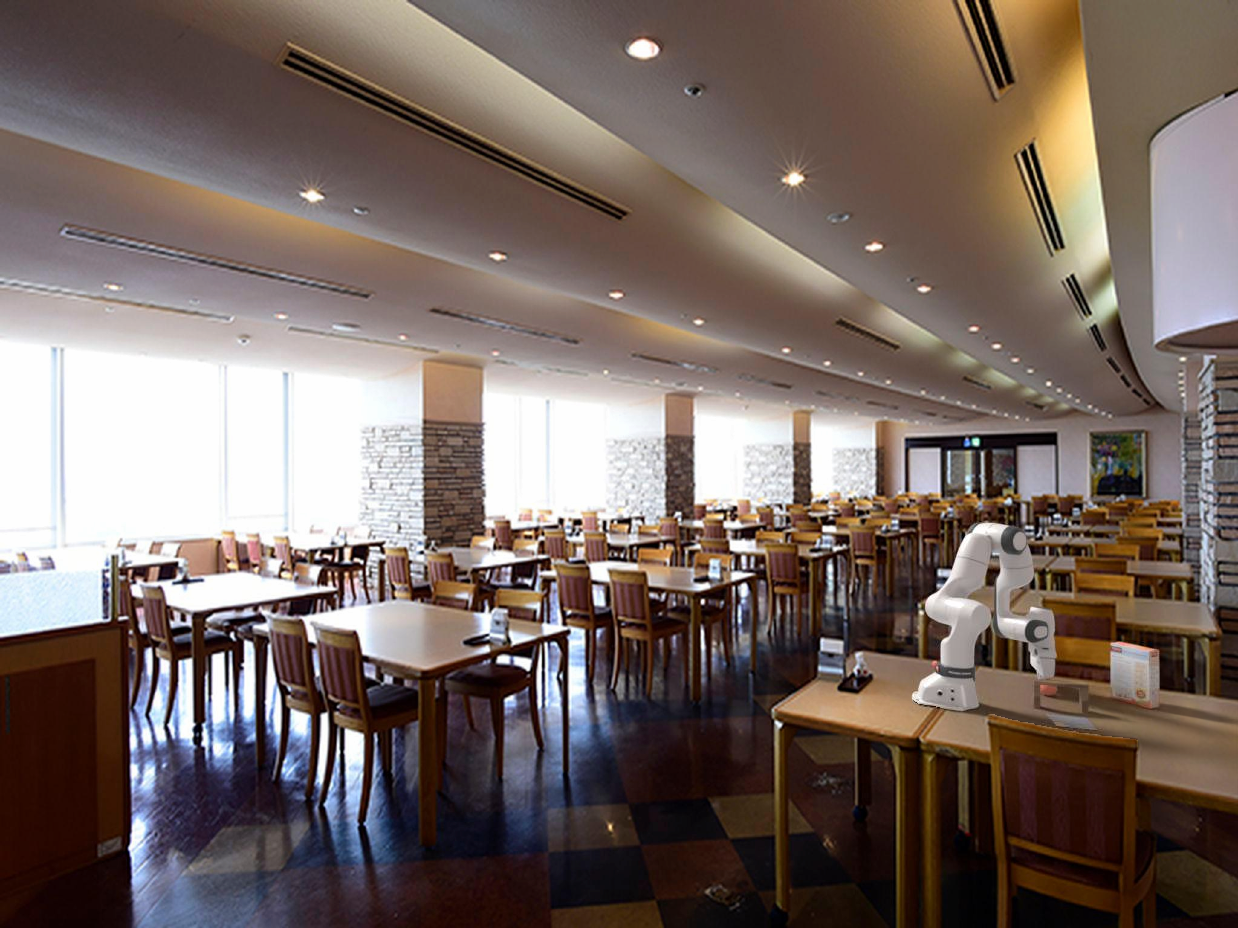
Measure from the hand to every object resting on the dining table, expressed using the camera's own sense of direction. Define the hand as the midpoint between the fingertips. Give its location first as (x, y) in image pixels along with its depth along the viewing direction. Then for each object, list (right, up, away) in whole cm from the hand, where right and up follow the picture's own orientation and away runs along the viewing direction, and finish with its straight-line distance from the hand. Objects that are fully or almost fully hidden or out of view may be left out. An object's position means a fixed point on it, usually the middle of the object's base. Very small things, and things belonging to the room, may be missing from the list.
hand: (1041, 683), depth 279 cm
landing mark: (-12, -2, -37) cm, 39 cm away
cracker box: (+24, -2, -17) cm, 30 cm away
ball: (-2, +1, -8) cm, 9 cm away
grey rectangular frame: (-7, -2, -23) cm, 25 cm away
